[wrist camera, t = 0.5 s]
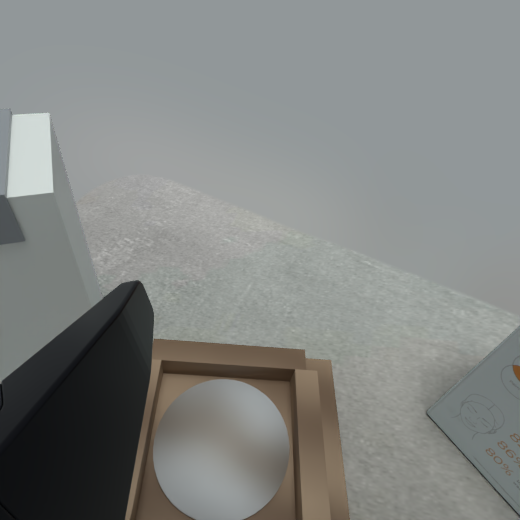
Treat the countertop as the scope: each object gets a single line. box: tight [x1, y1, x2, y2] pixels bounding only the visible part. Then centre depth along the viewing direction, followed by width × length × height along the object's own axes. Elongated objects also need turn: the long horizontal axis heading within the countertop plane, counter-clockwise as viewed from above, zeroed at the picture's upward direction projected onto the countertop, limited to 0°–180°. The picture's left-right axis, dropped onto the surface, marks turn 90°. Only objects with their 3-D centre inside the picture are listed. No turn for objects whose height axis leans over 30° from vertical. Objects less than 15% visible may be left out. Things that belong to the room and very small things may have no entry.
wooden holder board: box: [125, 339, 350, 520], centre depth 17 cm, size 16×12×4 cm
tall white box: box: [0, 109, 103, 384], centre depth 18 cm, size 5×5×13 cm
